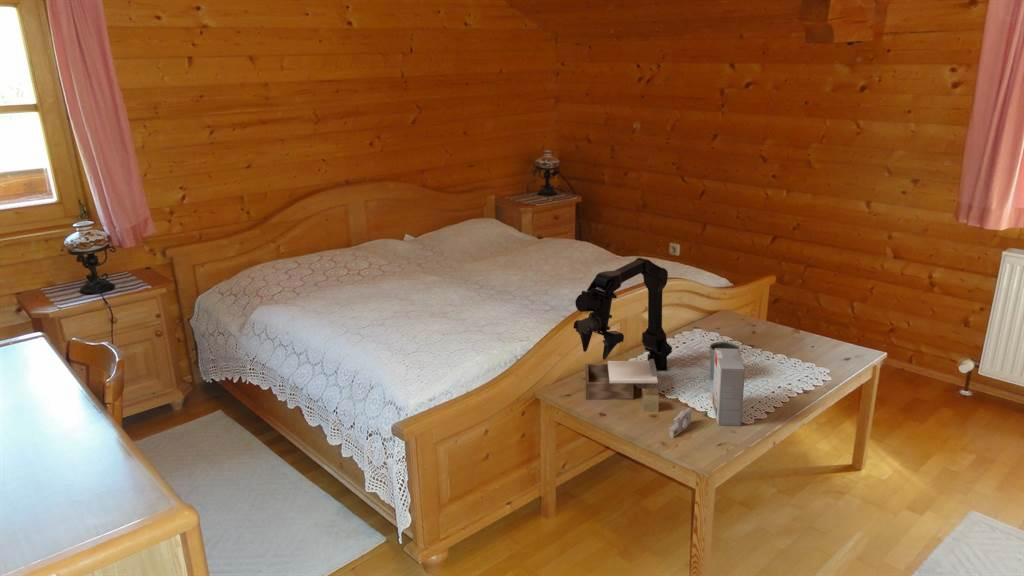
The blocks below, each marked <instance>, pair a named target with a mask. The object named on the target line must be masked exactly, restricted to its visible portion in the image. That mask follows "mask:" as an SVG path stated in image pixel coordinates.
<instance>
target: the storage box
mask: <svg viewBox="0 0 1024 576" xmlns="http://www.w3.org/2000/svg"><path fill="white" fill-rule="evenodd" d="M584 366H585V369H584V373H585V375H584V378H585V379H584V380H585V399H586V400H610V401H611V400H612V401H613V400H617V401H618V400H620V401H621V400H630V401H631V400H632V401H633V400H634V384H635V383H610V382H609V372H608V363H585V364H584Z"/></svg>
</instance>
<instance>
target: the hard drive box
mask: <svg viewBox="0 0 1024 576" xmlns="http://www.w3.org/2000/svg"><path fill="white" fill-rule="evenodd" d="M745 372H746V368H745V365H744V362H743V360H742V356H741V353H740V349H739V350H738V349H726V348H715V360H714V380H712V381H713V383H712V385H713V386H712V405H713V407H712V408H713V410H714V417H715V419H716V424H717V425H718V426H729V427H730V426H732V427H733V426H734V427H737V426H738V427H741V426H742V424H743V423H742V421H743V420H742V419H743V408H744V407H743V405H744V391H745V375H746V374H745Z"/></svg>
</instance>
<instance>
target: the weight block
mask: <svg viewBox="0 0 1024 576" xmlns="http://www.w3.org/2000/svg"><path fill="white" fill-rule="evenodd" d="M659 399H660V395H659V390H658V388H641V408H642V412H643V413H651V412H652V413H656V412H657V413H658V412H659V408H660V407H659V406H660V405H659V404H660V403H659V401H660V400H659Z"/></svg>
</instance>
